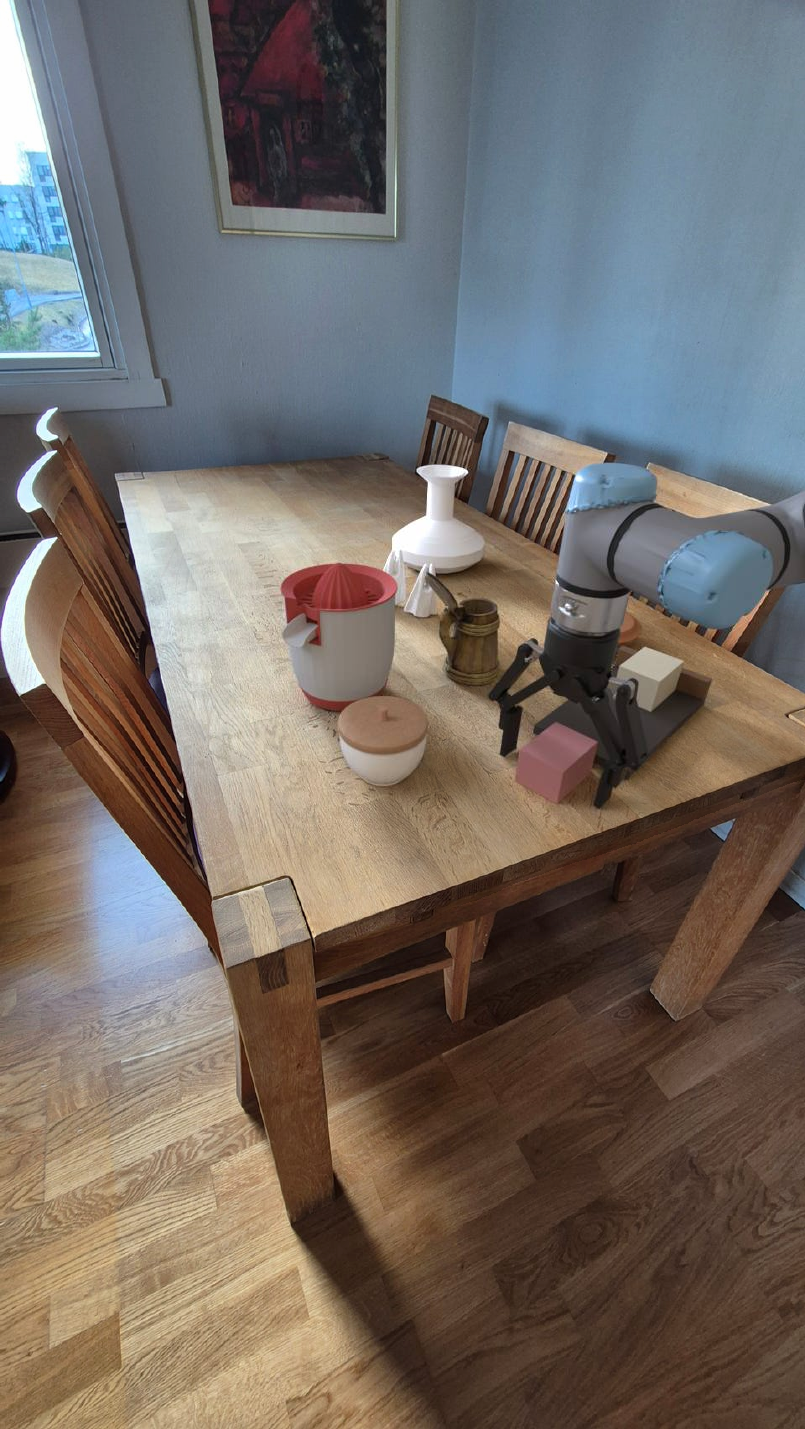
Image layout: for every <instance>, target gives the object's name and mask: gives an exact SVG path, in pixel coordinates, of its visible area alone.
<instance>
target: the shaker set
mask: <svg viewBox="0 0 805 1429" xmlns="http://www.w3.org/2000/svg"><path fill="white" fill-rule="evenodd" d="M395 558H396V559H395ZM382 571H384V572H386V573H388V574H390V575H391V576H392V577H393V578H394V579H395V581H396V583H397V588H398V589H397V592H396V594H395V606H398V605H399V604H400V603H403V602H406V603H405V606H404V607H403V612H405V613H411V614H413V616H414V617H418V618H428V617H429V616H431V615H435V616H436V615H438V595H437V594H436V593H435V592H434V590H433V589H432V588H431V587H430V585H429V584H428V582H427V581H426V579H425V575H426V573H427V572H426V571H427V564H425V565H424V566H423V568H422V570H421V571H419V573H418V576H417V579H416V581H415V583H414V585H413V587H412V590H411V592H410V594H409V596H408V599H407V586H406V573H405V563H404V562H403V555H402V551H401V550H398V553H397V557H396V556H395V550H393V549H392V550H391V551H390V554H389V555H388V558H387V560H386V562H385V564H384V567H383V569H382ZM429 573H431V574H433V575H434V576H435V577H437V576H436V573H435V567H434V565H433V564H431V565H430V568H429Z"/></svg>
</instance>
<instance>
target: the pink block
mask: <svg viewBox="0 0 805 1429" xmlns="http://www.w3.org/2000/svg"><path fill="white" fill-rule="evenodd" d="M597 745H598V742H597V741H595V740H593V739H591V738H589V737H587V736H585V735H583V734H580V733H578V732H576V731H574V730H572V729H570V728H568V727H566V726H564V725H562V724H559V723H557V722H555V723H554V724H553V725H551V726H550V727H549V728H547V729H546V730H545V731H543V732H542V733H541V734H539V735H536V736H535V737H534V738H532V739H531V740H530V741H529V742H527V743H526V744H525V745H524V746H523V747H521V748H520V749H519V754H518V760H517V765H516V772H515V777H514V778H515V779H514V781H515V782H516V783H517V784H520V785H521V786H523V787H525V788H527V789H528V790H531V791H532V792H534V793H536V794H537V795H539V796H541V797H542V798H544V799H546V800H548V801H550V802H552V803H554V804H555V805H557V804H558V803H560V802H561V801H562V800H563V799H564V798H565V797H566V796H567V795H568V794H569V793H571V792H572V791H573V790H574V789H575V788H576V787H577V786H578V785H580V783H582V782H583V781H584V780H585V779H586V778H587V777H588V776H589V775H590V774H591V772H592V768H593V765H594V763H593V761H594V757H595V753H596V749H597Z"/></svg>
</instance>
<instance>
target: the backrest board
mask: <svg viewBox="0 0 805 1429" xmlns="http://www.w3.org/2000/svg"><path fill="white" fill-rule="evenodd" d="M639 651H640V650H636V649H633V648H631V647H628V646H622V647H620V648H619V649H618V653H616V656H615V657H616V658H615V661H614V665H612V666H611V672H612V675H613V677H615V678H617V674H618V670H619V666H620V665H621V664H623V663H624V662H625V661H627V660H628V659H629V658H631V657H632V656H633V655H635V654H636V653H637V652H639ZM712 682H713V678H712V677H710V676H707V675H704V674H701V673H698V672H696V671H693V670H690V669H687V668H685V667H682V670H681V673H680V676H679V679H678V682H677V685H676V689H675V691H674V692H672V693H671V694H670V695H669V696H668V697H667V698H666V699H665V700H664V701H662V702H661V703H660V704H659V705H658V706H657V707H656V708H655V709H653V710H652V711H651V712H650V711H648V710H645V709H643V708H641V707H638V708H639V712H640V717H641V722H642V726H643V731H644V735H645V740H646V744H647V749H648V753H649V759H650V758H651V757H653V756H654V755H655V754H656V753H657V752H658V751H659V750H660V749H661V747H663V746H664V744H666V743H667V742H668V740H670V739H671V738H672V737H673V736H674V735H675V734H676V733H677V732H678V731H679V730H680V729H681V728H682V727H683V726H684V725H685V724H686V723H687V722H688V721H689V720H690V719H691V718H692V717H693V716H694V715H695V714H696V713H697V712H698V711H699V710H700V709H701V708H702V707H703V706H704V704H705V701H706V699H707V696H708V693H709V690H710V688H711V685H712ZM605 690H606V692H607V695H608V697H609V705H610V707H611V709H612V712H613V714H614V716H615V718H616V720H617V722H618V724H619V721H618V717H617V713H616V705H615V703H616V700H613V699H612V692H611V690H610V689H608V688H606V689H605ZM591 699H592V701H593V702H594V701H595V700H596V697H595V696H594V697H593V698H591ZM555 722H557V723H559V724H562V725H564V726H566V727H568V728H570V729H572V730H574V731H576V732H578V733H580V734H583V735H585V736H587V737H589V738H591V739H593V740H595V741H597V742H598V745H597V749H596V753H595V757H594V761H593V765H596V766H598V767H600V768H602V769H603V767H604V763H605V762H606V761H607V760H608V759H610V757H609V755H608V753H607V751H606V749H605V747H604V745H603V743H602V741H601V739H600V736H599V734H598V732H597V730H596V728H595V726H594V724H593V722H592V720H591V718H590V716H589V715H588V714H586V713H585V712H584V710H583V708H582V706H581V703H578V704H576V703H573V702H571V701H570V700H568V699H567V700H566V701H564V702H562V704H560V705H559V706H557V707H555V709H554V710H551V712H549V713H548V714H547V715H545V716H544V717H543V718H541V719H540V720H538V722H536V723H534V725H533V726H534V727H533V730H532V734H534V735H536V736H538V735H539V734H541V733H542V732H543V731H545V730H546V729H547V728H549V727H550V726H551V725H553V724H554V723H555ZM635 773H637V771H634V770H632V769H630V767H628V768H627V771H626V774H625V778H624V780H625V781H628V780H630V779H631V778H632V777H633V776H634V774H635Z"/></svg>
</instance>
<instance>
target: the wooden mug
mask: <svg viewBox="0 0 805 1429" xmlns="http://www.w3.org/2000/svg"><path fill="white" fill-rule="evenodd" d="M426 581H427V582H428V584H429V585H430V587H431V588H432V589H433V590H434V592H435V593H436V594H437V598H439V599H440V601H441V602H442V603H443V604H444V606H445V607H444V609H443V611H442V612H441V615H440V619H439V622H438V637H439V639H440V641H441V644H442V645H443V647H444V648H445V651H446V653H447V654H446V656H445V657H444V660H443V664H442V671H443V673H444V674H446V676H447V677H448V678H449V679H450V680H452V681H454V682H456V683H458V684H462V685H466V686H482V685H488V684H490V683H492V682H494V681H495V680H497V679H498V678H500V675H501V662H500V660H499V629H500V626H501V621H500V620H501V618H500V615H499V610H498V609H499V608H498V604H496V603H495V602H494V601H492V600H491V599H487V598H484V597H483V598H482V597H481V598H480V597H471V598H467V599H464V600H461V601H459V603H458V601H457V599H456V598H455V596H454V595H453V594H452V592H451V591H450V590H449V589H448V587H446V585H445V584H444V583H443V582H442V581H441V580H440V579H439V578H438V577H437V576H436V577H435V576H434V575H433V574H431V573H429V572H426V575H425V582H426ZM451 627H452V631H451V634H450V630H451Z"/></svg>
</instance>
